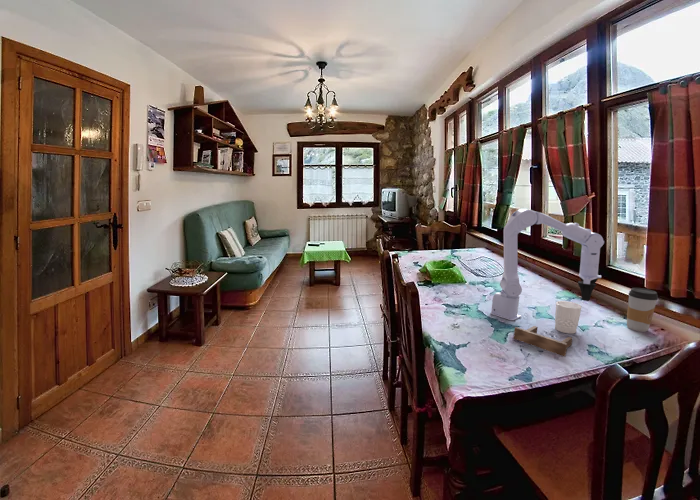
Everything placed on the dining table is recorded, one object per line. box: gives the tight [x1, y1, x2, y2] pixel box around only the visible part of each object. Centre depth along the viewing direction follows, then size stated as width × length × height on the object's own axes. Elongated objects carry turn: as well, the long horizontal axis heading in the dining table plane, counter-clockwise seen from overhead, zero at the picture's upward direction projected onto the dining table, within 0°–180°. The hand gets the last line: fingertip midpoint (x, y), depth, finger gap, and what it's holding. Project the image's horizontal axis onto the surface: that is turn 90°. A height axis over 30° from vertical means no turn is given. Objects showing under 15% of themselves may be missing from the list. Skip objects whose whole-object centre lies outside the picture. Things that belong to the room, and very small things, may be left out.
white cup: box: [554, 300, 582, 335], centre depth 124 cm, size 8×8×10 cm
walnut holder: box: [513, 325, 573, 357], centre depth 114 cm, size 16×11×4 cm
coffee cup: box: [626, 287, 659, 333], centre depth 126 cm, size 8×8×15 cm
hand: (586, 297), depth 130 cm, fingers open, 7 cm apart
